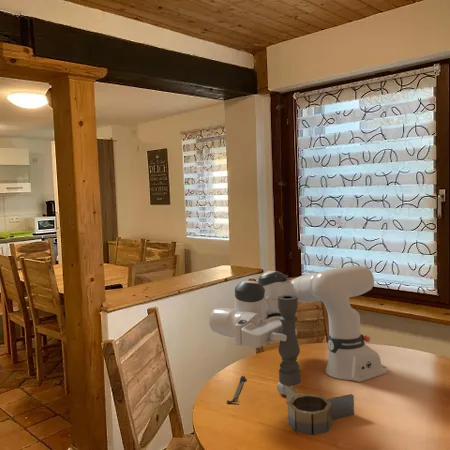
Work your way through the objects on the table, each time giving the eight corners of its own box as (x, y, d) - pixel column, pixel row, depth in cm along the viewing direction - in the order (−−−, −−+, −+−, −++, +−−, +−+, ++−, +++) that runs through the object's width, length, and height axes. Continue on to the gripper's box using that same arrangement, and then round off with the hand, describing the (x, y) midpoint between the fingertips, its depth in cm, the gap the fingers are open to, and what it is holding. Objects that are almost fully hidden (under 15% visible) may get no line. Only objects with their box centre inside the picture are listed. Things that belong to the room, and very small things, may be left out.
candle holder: (296, 387, 132) (293, 300, 130) (276, 383, 135) (273, 298, 133) (303, 379, 138) (301, 295, 136) (284, 375, 141) (281, 294, 139)
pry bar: (246, 408, 150) (246, 405, 150) (226, 405, 151) (226, 402, 151) (257, 380, 170) (257, 377, 170) (240, 378, 172) (240, 375, 171)
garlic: (275, 390, 160) (274, 375, 159) (290, 389, 160) (290, 374, 160) (278, 398, 154) (278, 382, 153) (295, 396, 154) (294, 381, 154)
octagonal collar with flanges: (327, 394, 155) (327, 376, 154) (364, 423, 136) (364, 403, 135) (271, 406, 148) (270, 387, 148) (301, 437, 129) (300, 416, 129)
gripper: (271, 328, 152) (309, 336, 143) (232, 346, 136) (272, 356, 128) (271, 309, 151) (309, 316, 143) (232, 325, 136) (272, 334, 127)
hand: (291, 335), depth 135 cm, fingers closed on candle holder, 3 cm apart
